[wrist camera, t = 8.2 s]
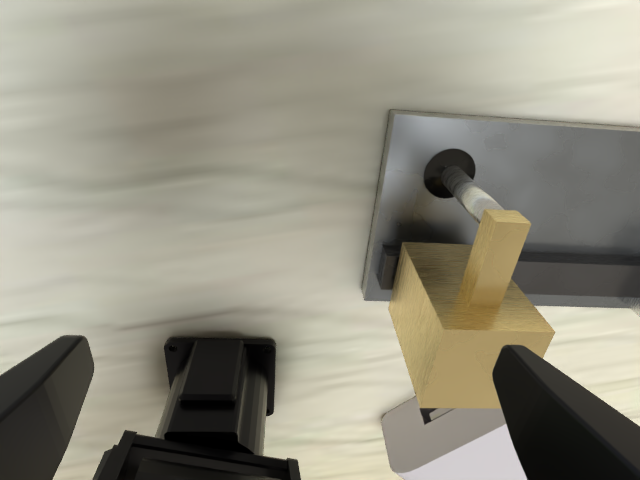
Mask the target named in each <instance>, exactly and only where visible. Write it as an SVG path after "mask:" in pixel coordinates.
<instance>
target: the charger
mask: <svg viewBox="0 0 640 480" xmlns="http://www.w3.org/2000/svg"><path fill="white" fill-rule="evenodd" d="M381 425H382V430H383V435H384V440H385V445H386V449H387V454H388V459H389V464H390V467H391V469H392V471H394V472H395V473H396V474H398V475H399V476H400V477H402V478H403V479H404V480H527V478H526V475H525V473H524V471H523V468H522V466H521V464H520V461H519V459H518V456H517V454H516V451H515V449H514V446H513V443H512V440H511V438H510V435H509V431H508V428H507V425H506V422H505V418H504V415H503V412H502V409H490V408H420V406H419V403H418V400H417V397H416V396H415V397H414V398H412V399H410V400H408V401H406V402H405V403H403V404H401V405H399V406H398V407H396V408H394V409H392V410H391V411H389V412H387V413H386V414H385V415H384V417H383V419H382V422H381Z"/></svg>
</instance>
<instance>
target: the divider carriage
mask: <svg viewBox="0 0 640 480" xmlns="http://www.w3.org/2000/svg"><path fill="white" fill-rule="evenodd" d="M441 181H442V183H443V184H444V185H445V187H446V188H447V189H448V190H449V191H450V192H451V193H452V195H453V196H454V197H455V198H456V199H457V200H458V201H459V203H460V204H461V205H462V206H463V207H464V208H465V209H466V211H467V212H468V213H469V214H470V215H471V216H472V217H473V219H474V220H475V221H476V222H477V223H478V224H479V228H478V231H477V234H476V237H475V241H474V244H473V245H464V244H440V243H417V242H402V246H401V251H400V256H399V261H398V266H397V271H396V275H395V280H394V285H393V290H392V295H391V300H390V305H389V312H390V315H391V318H392V321H393V324H394V328H395V331H396V334H397V337H398V340H399V343H400V346H401V350H402V353H403V356H404V359H405V362H406V365H407V368H408V372H409V375H410V378H411V381H412V384H413V387H414V390H415V394H416V397H417V400H418V403H419V406H420V408H490V409H501V405H500V402H499V399H498V396H497V393H496V389H495V386H494V383H493V378H492V372H493V368H494V365H495V363H496V360H497V358H498V356H499V353H500V351H501V348H502V347H503V346H504V345H523V346H525V347H527V348H528V349H530V350H531V351H532V352H534V353H535V354H537V355H538V356H540V357H541V358H542V359H543V357H544V354H545V352H546V350H547V348H548V346H549V344H550V342H551V340H552V338H553V336H554V334H555V331H554V330H553V329H552V327H551V326H550V325H549V324H548V323H547V321H546V320H545V319H544V318H543V316H542V315H541V314H540V313H539V312H538V310H537V309H536V308H535V307H534V305H533V304H532V303H531V302H530V301H529V299H528V298H527V297H526V296H525V295H524V293H523V292H522V291H521V290H520V288H519V287H518V286H517V285H516V284H515V282H514V281H513V280H512V279H511V277H512V274H513V271H514V269H515V266H516V263H517V261H518V258H519V255H520V253H521V250H522V247H523V245H524V242H525V240H526V237H527V234H528V232H529V229H530V226H531V223H530V222H529V221H528V220H527V219H526V218H525V217H524V216H522V215H521V214H520V213H519V212H518V211H515V210H504V209H503V208H502V207H501V206H500V205H499V204H498V203H497V202H496V201H495V200H494V199H493V198H492V197H490V196H489V195H488V194H487V193H486V192H485V191H484V190H483V189H482V188H481V187H480V186H479V185H478V184H477V183H475V182H474V181H473V180H472V179H471V178H470V177H469V176H468V175H467V174H466V173H465V172H464V171H463V170H461V169H460V168H459V167H458V166H449V167H447V168H446V169H445V170H444V171H443V172H442V174H441Z"/></svg>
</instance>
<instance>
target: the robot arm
mask: <svg viewBox="0 0 640 480" xmlns="http://www.w3.org/2000/svg"><path fill="white" fill-rule="evenodd" d="M172 345H173V346H176V347H173V346H172ZM266 347H269V349H267V348H266ZM164 351H165V357H166V364H167V371H168V377H169V384H170V393H169V396H168V399H167V402H166V405H165V408H164V411H163V414H162V417H161V420H160V424H159V427H158V430H157V433H156V436H155V437H150V436H144V435H138V434H136V433H137V432H133V431H127V430H125V431H124V434H123V436H122V438H121V440H120V442H119V444H118V445H114V446H113V448H112V449H110V450H108V451H105V452H104V455H103V457H102V459H101V461H100V464H99V466H98V468H97V471H96V473H95V475H94V477H93V480H301V478H300V472H299V466H298V460H296V459H290V458H287V459H286V460H285V459H279V458H273V457H267V456H263V449H264V435H265V421H266V416H270V415H272V414H273V412H274V389H275V360H276V344H275V342H274V341H272V340H268V339H223V338H169V339H168V340H167V341H166V344H165V346H164ZM93 373H94V362H93V358H92V354H91V351H90V347H89V343H88V340H87V338H86V337H85V336H82V335H64V336H61V337H60V338H58V339H56V340H55V341H53V342H52V343H50V344H48V345H47V346H45V347H44V348H42V349H41V350H39V351H38V352H36V353H34V354H33V355H31V356H30V357H28V358H27V359H25V360H24V361H22V362H20V363H19V364H17V365H16V366H14V367H13V368H11V369H9V370H8V371H6V372H5V373H3V374H2V375H0V480H52V479H53V477H54V475H55V473H56V471H57V468H58V466H59V464H60V462H61V460H62V458H63V456H64V453H65V451H66V449H67V447H68V444H69V441H70V439H71V436H72V433H73V430H74V428H75V425H76V422H77V419H78V416H79V414H80V411H81V408H82V405H83V402H84V399H85V397H86V394H87V391H88V388H89V385H90V382H91V380H92V377H93ZM492 378H493V383H494V386H495V389H496V393H497V396H498V399H499V402H500V405H501V409H502V412H503V415H504V418H505V422H506V425H507V428H508V431H509V435H510V438H511V440H512V443H513V446H514V449H515V451H516V454H517V456H518V459H519V461H520V464H521V466H522V468H523V471H524V473H525V475H526V478H527V480H640V426H638V425H637V424H635V423H634V422H633V421H631V420H630V419H628V418H627V417H625V416H624V415H623V414H621V413H620V412H618V411H617V410H615V409H614V408H613V407H611V406H610V405H608V404H607V403H605V402H604V401H603V400H601V399H600V398H598V397H597V396H595V395H594V394H593V393H591V392H590V391H588V390H587V389H585V388H584V387H583V386H581V385H580V384H578V383H577V382H575V381H574V380H572V379H571V378H570V377H568V376H567V375H565V374H564V373H562V372H561V371H560V370H558V369H557V368H555V367H554V366H552V365H551V364H550V363H548V362H547V361H545V360H544V359H542V358H541V357H540V356H538V355H537V354H535V353H534V352H532V351H531V350H530V349H528V348H527V347H525V346H523V345H504V346H503V347H502V348H501V351H500V353H499V356H498V358H497V360H496V363H495V365H494V368H493V372H492Z"/></svg>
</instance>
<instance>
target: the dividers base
mask: <svg viewBox="0 0 640 480" xmlns="http://www.w3.org/2000/svg"><path fill="white" fill-rule="evenodd" d="M449 166H458V167H459V168H460V169H461V170H463V171H464V172H465V173H466V174H467V175H468V176H469V177H470V178H471V179H472V180H473V181H474V182H475V183H477V184H478V185H479V186H480V187H481V188H482V189H483V190H484V191H485V192H486V193H487V194H488V195H489V196H490V197H492V198H493V199H494V200H495V201H496V202H497V203H498V204H499V205H500V206H501V207H502V208H503V209H504V210H515V211H518V212H519V213H520V214H521V215H522V216H524V217H525V218H526V219H527V220H528V221H529V222H530V223H531V226H530V229H529V232H528V234H527V237H526V240H525V242H524V245H523V247H522V250H521V253H520V255H519V258H518V261H517V263H516V266H515V269H514V271H513V274H512V277H511V279H512V280H513V281H514V282H515V284H516V285H517V286H518V287H519V288H520V290H521V291H522V292H523V293H524V295H525V296H526V297H527V298H528V299H529V301H530V302H531V303H532V304H533V305H536V306H570V307H604V308H630V309H632V310H633V311H634V312H635V313H636V314H637V315H638V316H640V127H627V126H613V125H599V124H585V123H571V122H557V121H543V120H529V119H515V118H500V117H486V116H472V115H458V114H444V113H430V112H416V111H402V110H390V114H389V120H388V127H387V133H386V139H385V145H384V152H383V158H382V164H381V170H380V177H379V183H378V189H377V196H376V202H375V208H374V214H373V221H372V227H371V233H370V240H369V246H368V252H367V258H366V265H365V271H364V277H363V283H362V294H363V298H364V300H365V301H390V300H391V295H392V290H393V285H394V280H395V275H396V271H397V266H398V261H399V256H400V251H401V246H402V242H417V243H440V244H464V245H473V244H474V241H475V237H476V234H477V231H478V228H479V224H478V223H477V222H476V221H475V220H474V219H473V217H472V216H471V215H470V214H469V213H468V212H467V211H466V209H465V208H464V207H463V206H462V205H461V204H460V203H459V201H458V200H457V199H456V198H455V197H454V196H453V195H452V193H451V192H450V191H449V190H448V189H447V188H446V187H445V185H444V184H443V183H442V181H441V174H442V172H443V171H444V170H445V169H446V168H447V167H449Z"/></svg>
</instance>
